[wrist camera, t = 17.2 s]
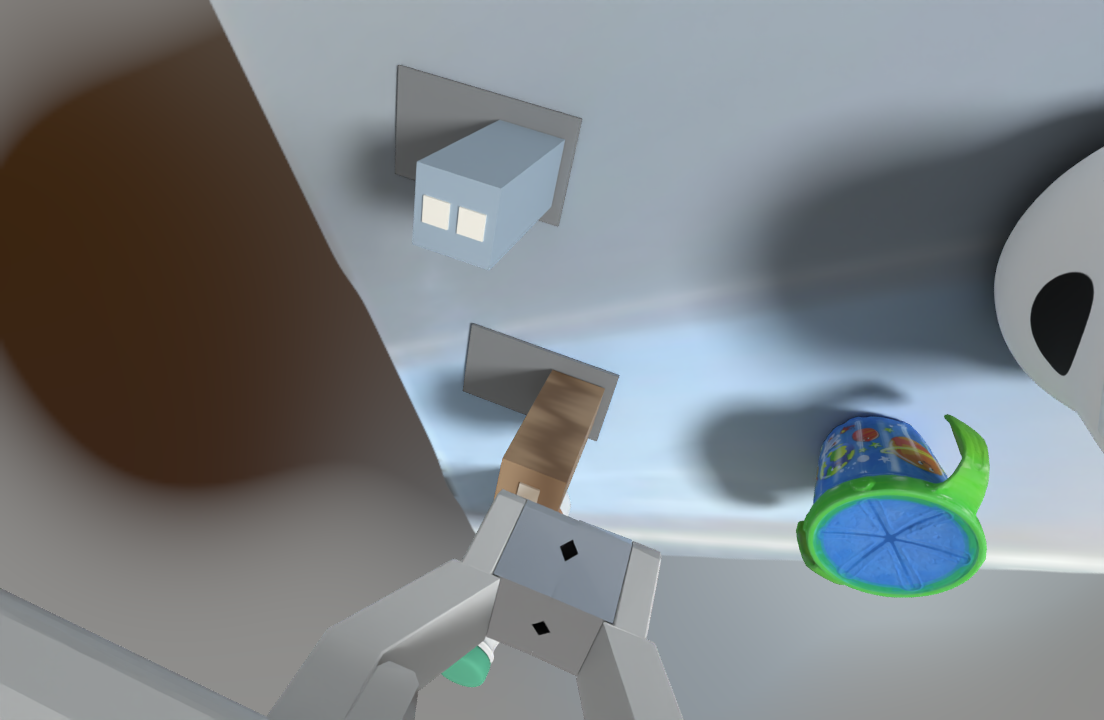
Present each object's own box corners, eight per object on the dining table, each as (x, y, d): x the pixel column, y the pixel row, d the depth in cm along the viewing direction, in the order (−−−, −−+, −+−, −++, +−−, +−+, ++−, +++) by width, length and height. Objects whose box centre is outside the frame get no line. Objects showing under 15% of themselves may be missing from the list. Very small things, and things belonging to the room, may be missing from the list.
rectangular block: (490, 189, 44) (410, 247, 34) (499, 119, 41) (415, 162, 31) (550, 208, 43) (487, 273, 33) (565, 139, 40) (500, 189, 30)
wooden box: (541, 411, 54) (492, 504, 44) (552, 369, 51) (501, 459, 41) (591, 429, 53) (552, 528, 44) (605, 388, 50) (566, 484, 41)
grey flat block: (396, 172, 46) (394, 173, 46) (400, 64, 41) (398, 65, 41) (558, 225, 44) (557, 226, 44) (582, 118, 39) (581, 119, 39)
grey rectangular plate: (464, 389, 56) (462, 391, 56) (473, 323, 52) (471, 324, 51) (597, 439, 55) (596, 441, 54) (619, 375, 50) (618, 377, 50)
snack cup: (842, 528, 51) (855, 630, 43) (751, 461, 50) (747, 552, 42) (1015, 435, 42) (1073, 543, 34) (906, 350, 41) (940, 441, 33)
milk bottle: (499, 502, 64) (410, 674, 48) (510, 456, 60) (416, 628, 44) (563, 528, 63) (494, 712, 47) (579, 483, 58) (509, 670, 43)
